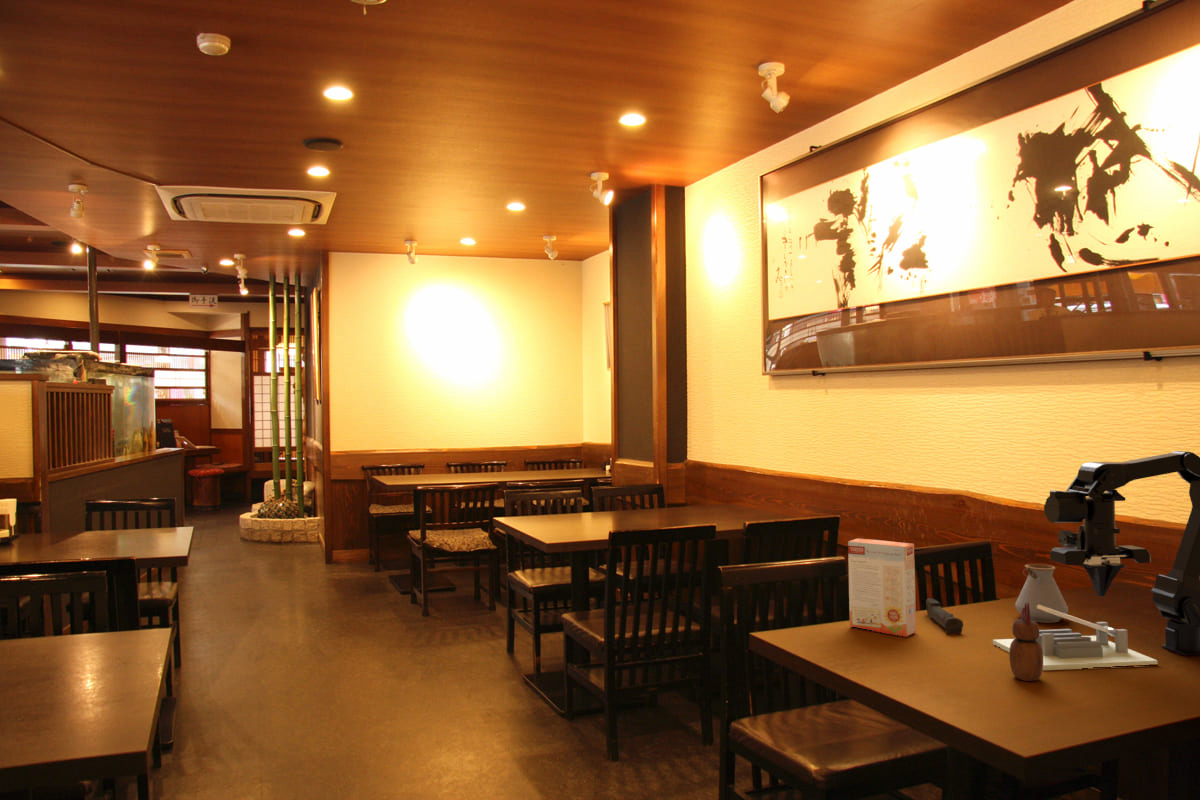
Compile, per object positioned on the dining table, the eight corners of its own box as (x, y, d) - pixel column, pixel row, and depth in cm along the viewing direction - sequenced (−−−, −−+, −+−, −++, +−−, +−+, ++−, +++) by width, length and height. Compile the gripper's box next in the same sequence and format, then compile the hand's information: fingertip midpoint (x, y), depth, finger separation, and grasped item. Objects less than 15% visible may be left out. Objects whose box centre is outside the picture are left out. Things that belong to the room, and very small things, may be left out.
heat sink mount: (1096, 640, 182) (1095, 614, 182) (1157, 665, 164) (1156, 637, 164) (992, 644, 180) (992, 618, 180) (1043, 670, 162) (1042, 642, 162)
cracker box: (917, 632, 190) (915, 542, 190) (906, 638, 185) (904, 546, 186) (860, 622, 199) (858, 536, 200) (848, 627, 195) (847, 540, 195)
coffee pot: (1020, 610, 208) (1019, 551, 208) (1072, 617, 201) (1070, 556, 201) (1001, 629, 192) (1000, 565, 192) (1057, 637, 184) (1056, 570, 185)
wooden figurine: (1042, 686, 153) (1040, 606, 153) (1008, 681, 156) (1006, 602, 156) (1044, 675, 159) (1043, 598, 159) (1011, 671, 162) (1010, 595, 162)
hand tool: (963, 635, 188) (963, 615, 188) (945, 635, 188) (945, 615, 188) (939, 615, 207) (939, 596, 207) (923, 614, 207) (923, 596, 207)
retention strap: (1107, 633, 175) (1109, 626, 175) (1120, 639, 171) (1122, 631, 171) (1036, 609, 173) (1038, 602, 174) (1047, 614, 169) (1050, 607, 170)
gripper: (1114, 515, 181) (1115, 586, 181) (1033, 518, 180) (1035, 589, 180) (1151, 523, 170) (1153, 597, 170) (1066, 525, 169) (1068, 600, 169)
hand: (1100, 595), depth 173 cm, fingers closed
